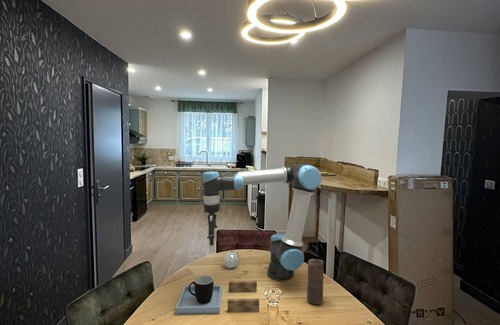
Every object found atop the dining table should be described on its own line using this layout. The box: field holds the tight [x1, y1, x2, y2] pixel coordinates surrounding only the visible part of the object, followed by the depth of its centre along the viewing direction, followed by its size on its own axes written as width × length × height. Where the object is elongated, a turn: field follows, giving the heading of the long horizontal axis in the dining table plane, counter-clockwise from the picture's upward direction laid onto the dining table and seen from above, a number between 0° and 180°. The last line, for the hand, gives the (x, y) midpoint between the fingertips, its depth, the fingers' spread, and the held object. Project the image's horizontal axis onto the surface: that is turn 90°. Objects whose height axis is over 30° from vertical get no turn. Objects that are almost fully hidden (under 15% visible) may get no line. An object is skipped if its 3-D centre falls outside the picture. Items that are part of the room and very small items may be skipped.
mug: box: [188, 274, 215, 304], centre depth 128 cm, size 12×9×10 cm
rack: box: [227, 280, 260, 313], centre depth 129 cm, size 14×18×5 cm
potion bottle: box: [222, 250, 240, 269], centre depth 167 cm, size 9×10×15 cm
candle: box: [306, 258, 325, 305], centre depth 128 cm, size 8×7×20 cm
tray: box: [175, 284, 223, 316], centre depth 128 cm, size 19×19×3 cm
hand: (213, 246), depth 134 cm, fingers open, 13 cm apart
